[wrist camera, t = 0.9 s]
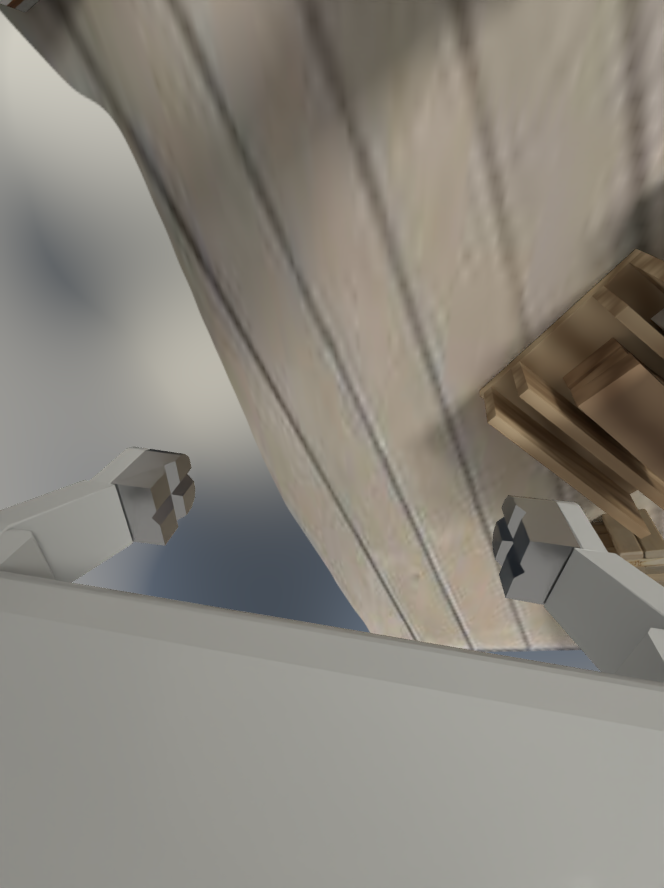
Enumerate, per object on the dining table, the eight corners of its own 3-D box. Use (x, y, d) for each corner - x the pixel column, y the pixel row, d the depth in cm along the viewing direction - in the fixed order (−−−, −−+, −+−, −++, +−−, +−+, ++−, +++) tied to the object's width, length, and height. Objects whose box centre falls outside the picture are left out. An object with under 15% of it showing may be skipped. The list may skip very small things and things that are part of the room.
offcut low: (612, 337, 41) (620, 345, 39) (702, 413, 43) (714, 425, 41) (562, 377, 44) (567, 387, 42) (647, 446, 46) (655, 458, 44)
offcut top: (629, 353, 37) (639, 363, 35) (722, 439, 39) (736, 454, 37) (571, 394, 40) (577, 406, 38) (659, 471, 43) (669, 486, 41)
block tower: (579, 510, 57) (602, 632, 69) (595, 554, 50) (617, 681, 62) (645, 503, 54) (656, 632, 66) (671, 549, 47) (679, 684, 59)
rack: (635, 248, 37) (694, 274, 28) (794, 393, 41) (892, 458, 32) (479, 390, 49) (485, 441, 40) (612, 493, 53) (645, 561, 44)
